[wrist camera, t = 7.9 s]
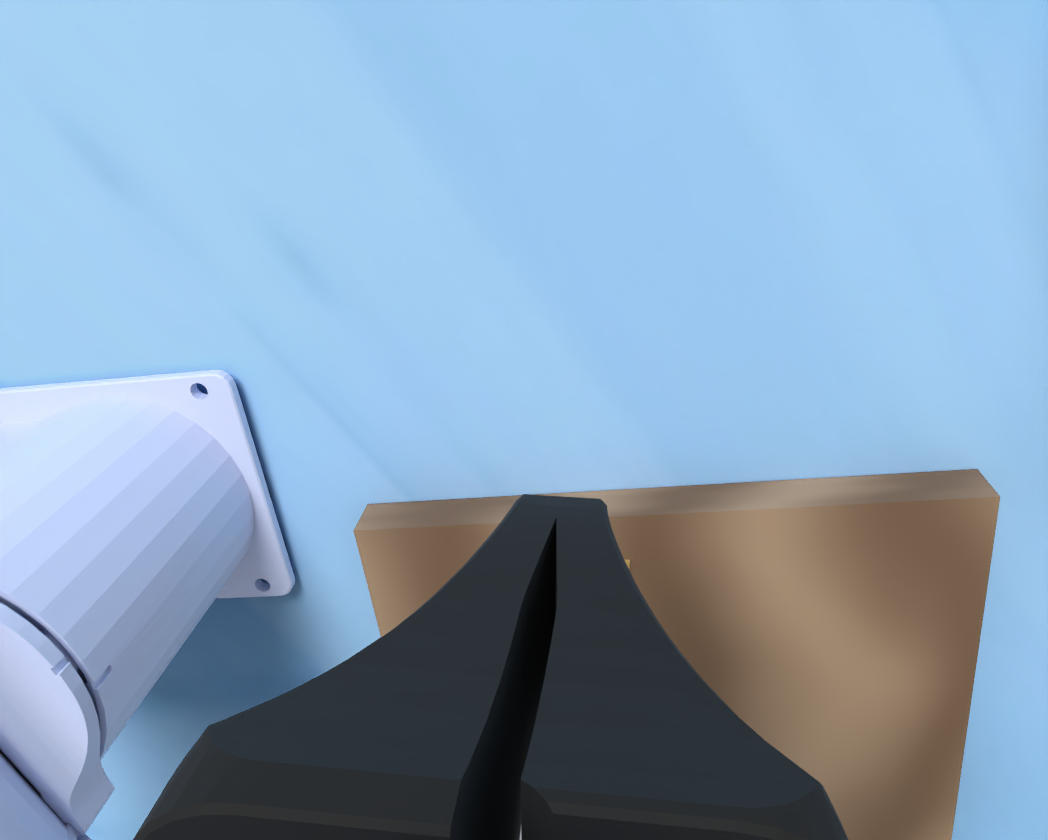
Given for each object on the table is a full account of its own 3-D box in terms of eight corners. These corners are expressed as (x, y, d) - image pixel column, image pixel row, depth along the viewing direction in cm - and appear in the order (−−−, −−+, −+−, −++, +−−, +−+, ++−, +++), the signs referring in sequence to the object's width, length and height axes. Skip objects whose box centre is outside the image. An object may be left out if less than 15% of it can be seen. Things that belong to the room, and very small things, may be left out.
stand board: (467, 910, 34) (460, 951, 32) (367, 504, 25) (351, 534, 24) (920, 919, 31) (935, 965, 29) (977, 468, 23) (1003, 500, 21)
